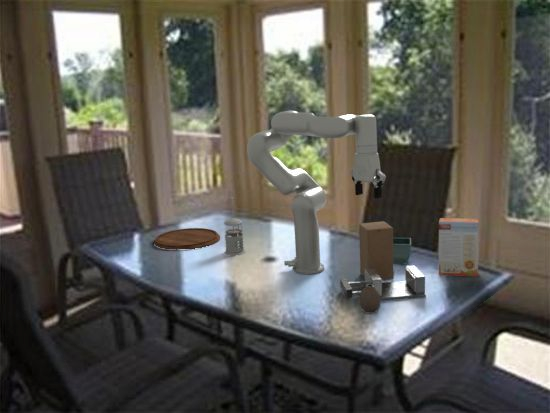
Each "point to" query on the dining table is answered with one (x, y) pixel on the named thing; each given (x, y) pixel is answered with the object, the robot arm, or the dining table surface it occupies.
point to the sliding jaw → (362, 283)
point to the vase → (369, 299)
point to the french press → (234, 237)
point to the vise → (404, 286)
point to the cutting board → (187, 238)
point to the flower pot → (401, 250)
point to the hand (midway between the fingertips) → (368, 196)
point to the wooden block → (376, 248)
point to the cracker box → (458, 247)
